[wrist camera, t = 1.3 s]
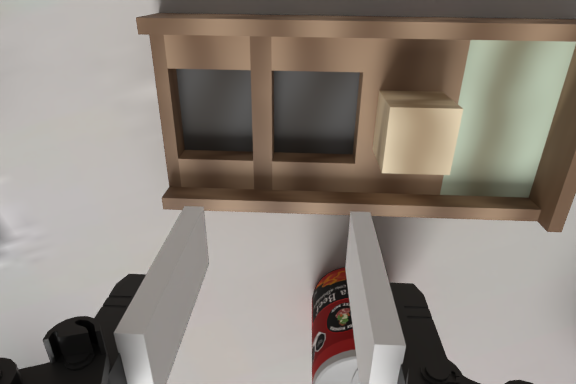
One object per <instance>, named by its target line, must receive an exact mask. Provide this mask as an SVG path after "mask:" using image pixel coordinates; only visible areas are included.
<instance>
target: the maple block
mask: <svg viewBox="0 0 576 384" xmlns="http://www.w3.org/2000/svg"><path fill="white" fill-rule="evenodd" d="M462 114H463V108H462V107H461V106H459V105H458V104H457V103H456V102H454V101H453V100H452V99H451V98H449V97H448V96H447V95H446V94H445V93H443V92H426V91H380V90H379V97H378V106H377V115H376V124H375V133H374V142H373V151H374V154H375V156H376V159H377V162H378V164H379V167H380V169H381V172H382V173H392V174H427V175H450V172H451V167H452V162H453V157H454V152H455V148H456V143H457V138H458V133H459V128H460V123H461V118H462Z"/></svg>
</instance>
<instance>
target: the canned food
mask: <svg viewBox="0 0 576 384" xmlns="http://www.w3.org/2000/svg"><path fill="white" fill-rule="evenodd" d="M312 384H360V381H359V373H358V365H357V357H356V349H355V341H354V333H353V325H352V317H351V310H350V302H349V294H348V286H347V278H346V270H345V268H340V269H337V270H334V271H332V272H330V273H328V274H327V275H326V276H324V277H323V278H322V279H321V280H320V281H319V283H318V285H317V286H316V288H315V291H314V294H313V297H312Z"/></svg>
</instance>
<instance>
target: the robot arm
mask: <svg viewBox="0 0 576 384" xmlns="http://www.w3.org/2000/svg"><path fill="white" fill-rule="evenodd" d="M208 265H209V258H208V247H207V236H206V226H205V215H204V207H194V206H184V208H183V210H182V212H181V213H180V215H179V217H178V219H177V221H176V222H175V224H174V226H173V228H172V229H171V231H170V233H169V235H168V237H167V238H166V240H165V242H164V244H163V246H162V247H161V249H160V251H159V253H158V255H157V256H156V258H155V260H154V262H153V264H152V265H151V267H150V269H149V271H148V272H147V274H146V275H143V274H128V275H127V276H126V277H125V278H123V279H122V280H121V281H119V282H118V283H117V284H116V285H115V287H114V288H113V290H112V292H111V293H110V295H109V298H107V299H106V301H105V302H104V304H103V307H101V309H100V310H99V312H98V313H97V315H96V316H95V318H91V317H88V316H80V317H74V318H70V319H67V320H64V321H63V322H61V323H59V324H57V325H55V326H54V327H53V328H52V329H51V330H49V331H48V332H47V334H46V335H45V337H44V339H43V342H44V345H45V348H46V351H47V354H48V357H49V359H50V362H49V363H46V364H42V365H37V366H32V367H28V368H23V369H18V368H17V365H16V364H15V363H14V362H13V361H12V360H11V359H7V358H0V384H166V383H167V380H168V378H169V375H170V372H171V369H172V366H173V364H174V361H175V358H176V355H177V352H178V349H179V347H180V344H181V341H182V338H183V335H184V333H185V330H186V327H187V324H188V321H189V319H190V316H191V313H192V310H193V307H194V305H195V302H196V299H197V296H198V293H199V291H200V288H201V285H202V282H203V279H204V277H205V274H206V271H207V268H208ZM345 270H346V278H347V286H348V294H349V302H350V310H351V317H352V325H353V333H354V341H355V349H356V357H357V365H358V373H359V381H360V384H480V383H477V382H475V381H472V380H470V379H468V378H466V377H465V376H463V375H462V373H461V372H460V370H459V369H458V368H457V366H456V365H455V364H453V363H452V362H451V361H449V360H448V359H447V357H446V354H445V351H444V349H443V346H442V343H441V340H440V338H439V335H438V332H437V330H436V327H435V324H434V321H433V320H432V316H431V313H430V311H429V309H428V305H427V302H426V300H425V297H424V294H423V293H422V292H421V291H420V290H419V289H418V288H417V287H416V286H415V285H414V284H408V283H389V280H388V276H387V272H386V269H385V265H384V261H383V258H382V254H381V250H380V246H379V243H378V239H377V235H376V231H375V228H374V224H373V220H372V216H371V213H370V212H352V211H351V212H350V223H349V234H348V245H347V256H346V267H345ZM505 384H533V383H530V382H526V381H522V380H513V381H508V382H507V383H505Z"/></svg>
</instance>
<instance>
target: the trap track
mask: <svg viewBox="0 0 576 384" xmlns="http://www.w3.org/2000/svg"><path fill="white" fill-rule="evenodd" d="M136 22H137V29H138V34H149V35H150V43H151V50H152V58H153V66H154V73H155V81H156V88H157V96H158V104H159V111H160V119H161V126H162V134H163V142H164V149H165V157H166V164H167V172H168V180H169V188H168V190H167V191H166V193H165V194H164V195H163V197H162V203H163V209H173V210H183V208H184V206H194V207H204V211H235V212H266V213H297V214H328V215H350V212H351V211H352V212H370V213H371V216H390V217H421V218H452V219H483V220H514V221H538V222H539V223H540V224H541V226H542V227H543V228H544V229H545V230H546V231H547V232H562V229H563V226H564V224H565V221H566V218H567V215H568V213H569V210H570V207H571V204H572V202H573V199H574V196H575V193H576V19H519V18H452V17H386V16H319V15H252V14H186V13H157V14H152V15H147V16H142V17H137V18H136ZM379 90H380V91H426V92H443V93H445V94H446V95H447V96H448V97H449V98H451V99H452V100H453V101H454V102H456V103H457V104H458V105H459V106H461V107H462V108H463V114H462V118H461V123H460V128H459V133H458V138H457V143H456V148H455V152H454V157H453V162H452V167H451V172H450V175H427V174H392V173H382V172H381V169H380V167H379V164H378V162H377V159H376V156H375V154H374V151H373V142H374V133H375V124H376V115H377V106H378V97H379Z"/></svg>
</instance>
